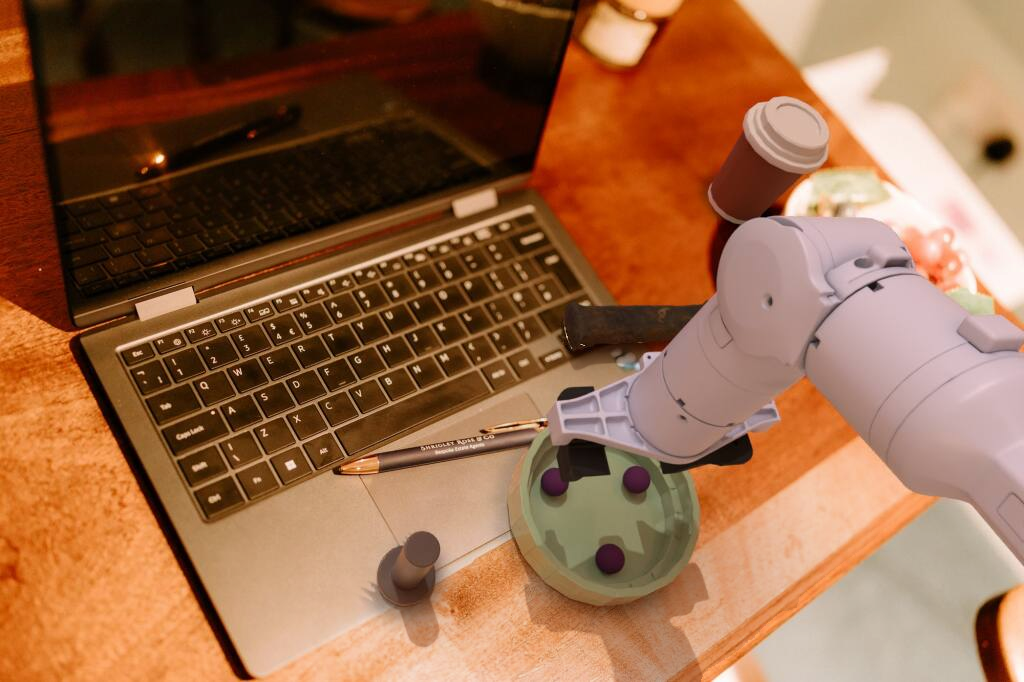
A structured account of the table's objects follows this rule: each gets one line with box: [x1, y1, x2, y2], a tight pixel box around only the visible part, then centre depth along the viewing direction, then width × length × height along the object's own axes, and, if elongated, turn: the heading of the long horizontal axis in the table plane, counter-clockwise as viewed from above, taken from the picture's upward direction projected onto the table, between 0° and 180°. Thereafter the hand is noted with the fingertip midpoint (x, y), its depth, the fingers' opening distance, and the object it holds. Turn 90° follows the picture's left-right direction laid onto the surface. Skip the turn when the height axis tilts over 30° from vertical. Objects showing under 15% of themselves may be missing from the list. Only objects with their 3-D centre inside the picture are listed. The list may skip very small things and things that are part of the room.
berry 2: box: [595, 544, 625, 574], centre depth 52 cm, size 2×2×2 cm
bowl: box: [507, 425, 701, 607], centre depth 54 cm, size 14×14×4 cm
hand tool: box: [561, 299, 710, 350], centre depth 64 cm, size 19×4×5 cm, turn 98°
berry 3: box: [623, 466, 650, 494], centre depth 56 cm, size 2×2×2 cm
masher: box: [376, 530, 441, 607], centre depth 46 cm, size 4×4×8 cm
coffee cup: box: [707, 95, 831, 225], centre depth 73 cm, size 9×9×12 cm
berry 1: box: [541, 468, 569, 497], centre depth 54 cm, size 2×2×2 cm
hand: (614, 464), depth 49 cm, fingers open, 7 cm apart
